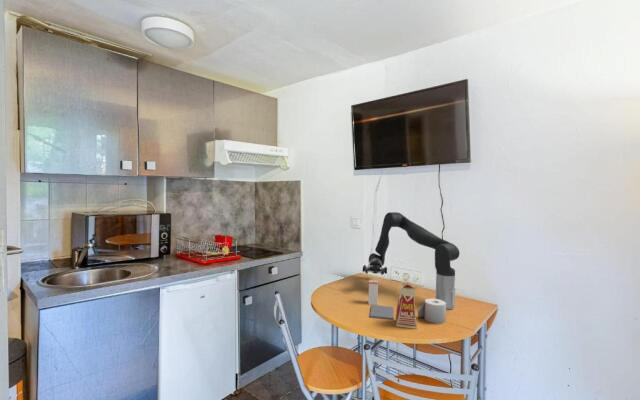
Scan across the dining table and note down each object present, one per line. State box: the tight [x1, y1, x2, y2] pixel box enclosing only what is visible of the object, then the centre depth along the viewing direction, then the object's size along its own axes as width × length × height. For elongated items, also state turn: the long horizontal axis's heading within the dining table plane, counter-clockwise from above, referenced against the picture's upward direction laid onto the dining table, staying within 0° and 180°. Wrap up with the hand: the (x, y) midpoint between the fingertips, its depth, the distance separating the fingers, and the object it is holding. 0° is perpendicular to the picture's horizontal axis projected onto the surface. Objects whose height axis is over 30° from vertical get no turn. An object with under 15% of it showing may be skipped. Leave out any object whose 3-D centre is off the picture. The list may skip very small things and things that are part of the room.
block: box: [368, 279, 379, 306], centre depth 173 cm, size 4×4×12 cm
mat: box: [369, 304, 395, 321], centre depth 160 cm, size 15×11×1 cm
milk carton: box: [395, 280, 418, 330], centre depth 147 cm, size 9×9×20 cm
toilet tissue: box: [417, 298, 447, 325], centre depth 152 cm, size 9×13×9 cm
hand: (374, 272), depth 183 cm, fingers open, 8 cm apart
